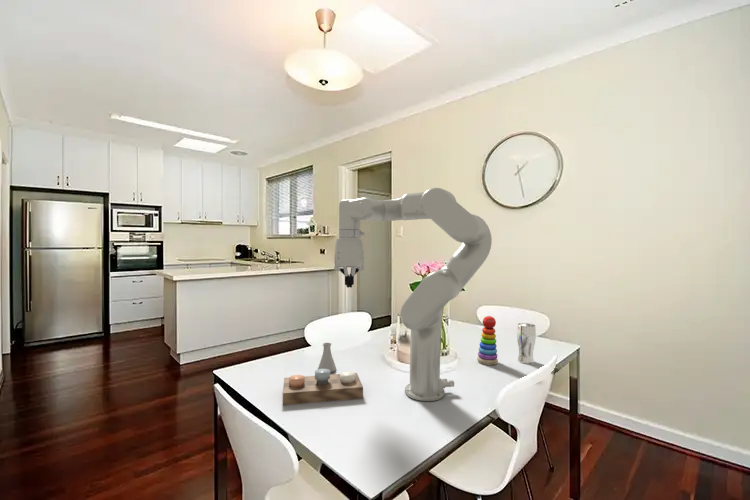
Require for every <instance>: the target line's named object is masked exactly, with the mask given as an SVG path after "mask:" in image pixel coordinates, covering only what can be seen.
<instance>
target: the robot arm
mask: <svg viewBox="0 0 750 500" xmlns="http://www.w3.org/2000/svg"><path fill="white" fill-rule="evenodd" d="M411 220H413V221H414V220H431V221H432V222H434V224H436V225H437V226H438V227H439V228H440V229H441V230H442V231H443V232H445V234H447V235H448V236H449V237H450V238H452V239H453V240H455V241H456V242H459V243H461V245H460V247H459V248H458V249H457V250H456V251H455V252H454V253H452V255H451V257H450V258H449V259H448V261H447V262H446V263H445V264H444V265H443V266H442V267H441V268H440V269H438V270H435V271H433V272H430V273H429V274H427V275H426V276H425V277H424V278H423V279H422V280H421V282H420V283H419V284H418V285H417V287H416V288H415V289H414V290H413V291H412V293H410V295H409V296H408V297H407V298H406V300H405V301H404V302H403V304H402V306H401V308H400V312H399V313H400V320H401V323H402V325H404V327H406V328H407V329H409V330H410V344H409V345H410V346H409V349H410V350H409V384H407V385H406V386H404V393H405V396H408V397H409V398H410V399H413V400H417V401H420V402H435V401H438V400H441V399H442V398H444V397H445V392H446V390H445V388H454V387H455V381H454V380H453V379H452V380H448V379H447V378H441V377H440V376H441V338H442V337H441V332H442V325H443V324H442V323H443V316H444V315H443V314H444V310H443V309H444V307H445V306H447V304H448V303H449V302H450V301H451V300H454V299H455V298H456V297H458V295H459V294H460V293H461V291H462V289H463V288H464V287H465V286H466V285H467V284H468V282H470V280H471V279H472V278H473V277H474V276H475V274H476V273H477V272H478V270H479V269H480V268H481V267H482V266H483V264H484V263H485V261H486V260H487V259H488V257H489V254H490V252H491V249H492V242H493V241H492V239H493V238H492V234H491V230H490V228H489V225H488V224H487V223H486V221H485V219H483V218H482V217H480V216H479V215H476V214H473V213H471V212H469V211H468V210H467V209H466V208H464V206H462V205H461V204H459V203H458V201H457V199H456V197H455V195H454V194H453V193H452V192H451V191H448V190H445V189H444V188H440V187H433V188H432V187H431V188H428V189H427V190H426V191H424V192H423V191H422V192H410V193H405V194H403V195H402V197H400V198H396V199H394V198H393V199H386V200H385V199H382V200H380V199H379V200H378V199H374V198H371V197H360V198H356V199H341V200H339V205H338V238H336V239H335V247H334V268H333V270H334V271H336V272H337V271H338V272H340V273H342V274H343V276H344V285H345V286H346V288H351V289H352V288H353V286H355V285H354V283H355V281H354V280H355V278H354V277H355V275H356V274H357V273H358V272H361V271H365V253H364V251H365V250H364V243H363V242H364V241H363V239H362V237H364V236H365V232H364V231H362V230H361V221H368V222H369V221H371V222H392V221H411ZM348 268H350V272H348ZM349 273H350V274H349Z"/></svg>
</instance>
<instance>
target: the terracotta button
mask: <svg viewBox="0 0 750 500" xmlns="http://www.w3.org/2000/svg"><path fill="white" fill-rule="evenodd" d="M304 376H305V375H302V374H294V375H291V376H288V378H289V386H291V387H301V386H303V385H304V384H305V377H304Z"/></svg>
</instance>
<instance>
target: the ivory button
mask: <svg viewBox="0 0 750 500" xmlns="http://www.w3.org/2000/svg"><path fill="white" fill-rule="evenodd" d="M355 373H356V372H353V371H343V372H340V373H339V374H340V382H342V383H352V382H354V381H355Z"/></svg>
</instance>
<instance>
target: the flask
mask: <svg viewBox="0 0 750 500" xmlns="http://www.w3.org/2000/svg"><path fill="white" fill-rule="evenodd" d="M322 346H323V351H322V355H321V358H320V361H319V364H318V367H317V370H318V369H329V370H330V374H331V373H333V372H336V371H337V366H336V363H335V360H334V357H333V354H332V351H331V346H332V343H331V342H324V343H322Z"/></svg>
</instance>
